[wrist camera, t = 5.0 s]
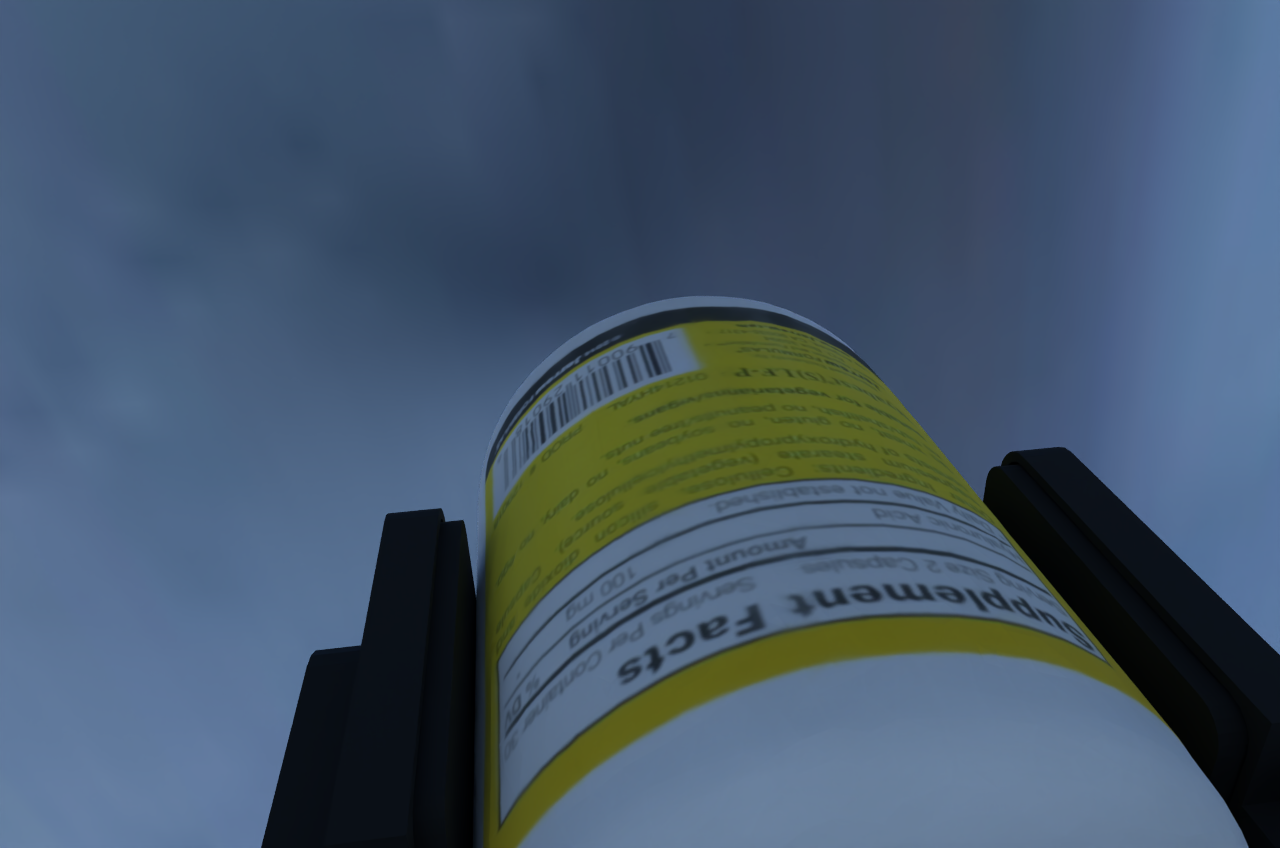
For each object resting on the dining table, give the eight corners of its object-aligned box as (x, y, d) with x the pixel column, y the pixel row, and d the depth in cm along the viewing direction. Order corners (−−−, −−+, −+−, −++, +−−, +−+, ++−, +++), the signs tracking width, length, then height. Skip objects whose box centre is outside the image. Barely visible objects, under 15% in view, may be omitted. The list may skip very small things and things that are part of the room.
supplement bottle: (824, 657, 14) (1299, 1769, 6) (453, 623, 13) (365, 1941, 5) (955, 318, 12) (2074, 1353, 3) (516, 242, 11) (569, 1499, 2)
